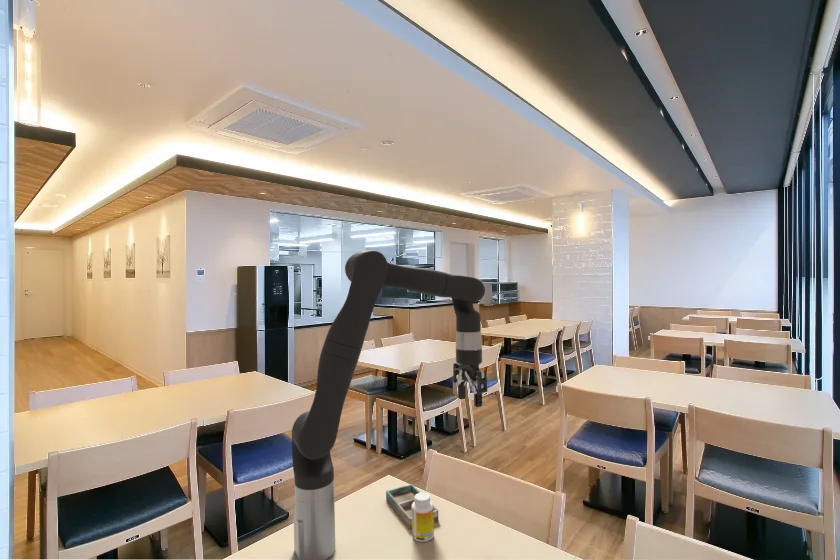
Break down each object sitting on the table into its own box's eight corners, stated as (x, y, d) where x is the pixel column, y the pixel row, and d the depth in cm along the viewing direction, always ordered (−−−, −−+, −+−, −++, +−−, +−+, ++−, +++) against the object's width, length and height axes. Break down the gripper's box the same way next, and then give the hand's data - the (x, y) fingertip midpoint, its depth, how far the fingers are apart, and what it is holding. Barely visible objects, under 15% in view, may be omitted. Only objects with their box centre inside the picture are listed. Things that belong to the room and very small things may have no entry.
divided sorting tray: (410, 529, 110) (409, 519, 110) (386, 500, 124) (386, 490, 124) (438, 520, 113) (438, 510, 113) (412, 493, 128) (412, 483, 128)
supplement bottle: (438, 536, 106) (437, 496, 106) (421, 546, 103) (420, 504, 103) (424, 527, 111) (423, 488, 111) (407, 535, 107) (406, 495, 107)
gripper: (445, 344, 126) (446, 398, 126) (471, 351, 113) (472, 411, 114) (466, 342, 130) (467, 394, 130) (494, 349, 117) (495, 407, 117)
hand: (469, 402), depth 122 cm, fingers open, 8 cm apart
